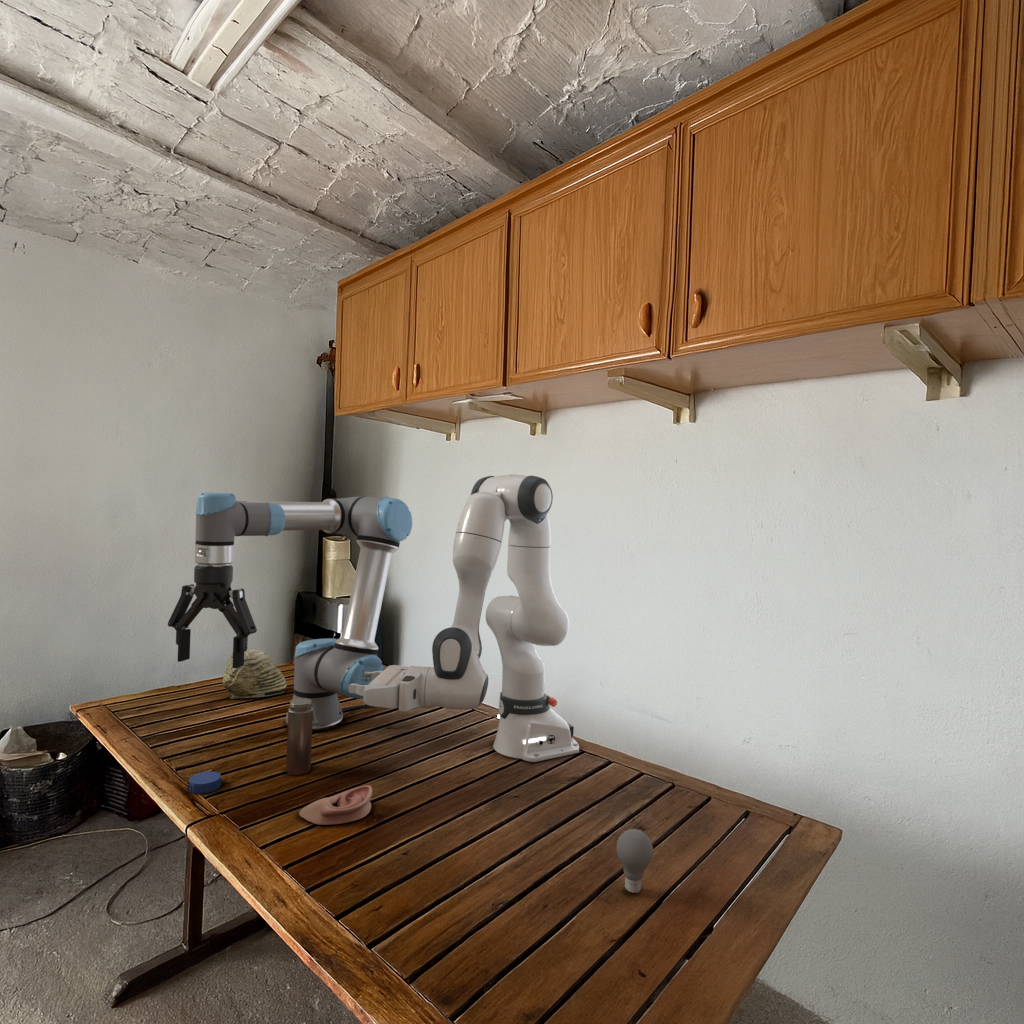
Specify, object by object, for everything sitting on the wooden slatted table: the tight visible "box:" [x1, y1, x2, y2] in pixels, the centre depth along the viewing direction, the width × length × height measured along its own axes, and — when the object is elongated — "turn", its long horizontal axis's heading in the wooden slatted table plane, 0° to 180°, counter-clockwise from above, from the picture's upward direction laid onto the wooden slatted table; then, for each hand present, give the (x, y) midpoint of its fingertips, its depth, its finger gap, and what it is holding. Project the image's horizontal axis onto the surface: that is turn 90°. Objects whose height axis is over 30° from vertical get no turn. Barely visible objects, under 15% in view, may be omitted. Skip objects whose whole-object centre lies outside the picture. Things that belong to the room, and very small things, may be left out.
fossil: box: [222, 647, 288, 699], centre depth 198 cm, size 9×18×15 cm, turn 132°
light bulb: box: [615, 828, 654, 894], centre depth 106 cm, size 6×6×10 cm
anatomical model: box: [298, 784, 373, 826], centre depth 127 cm, size 13×4×12 cm
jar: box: [285, 698, 313, 776], centre depth 146 cm, size 5×5×16 cm
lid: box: [188, 771, 222, 795], centre depth 136 cm, size 6×6×2 cm
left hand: (210, 663), depth 136 cm, fingers open, 13 cm apart
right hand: (356, 681), depth 145 cm, fingers open, 8 cm apart
